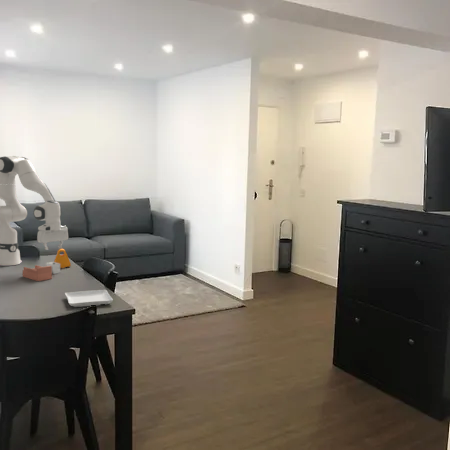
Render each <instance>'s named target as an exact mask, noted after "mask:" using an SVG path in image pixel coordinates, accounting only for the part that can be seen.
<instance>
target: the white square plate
mask: <svg viewBox="0 0 450 450" xmlns="http://www.w3.org/2000/svg"><path fill="white" fill-rule="evenodd" d="M64 295H65V296H66V299H67V302H68V304H69V305H70V306H71V307H74V308H79V307H80V308H81V307H92V306H91V305H96V306H101V305H100V304H105V305H109V304H111V303H112V302H113V301H114V299H113V297H112V296H111V295H110V294H109V292H108V290H107V289H96V290H95V289H94V290H92V289H91V290H81V291H70V292H64Z"/></svg>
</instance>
